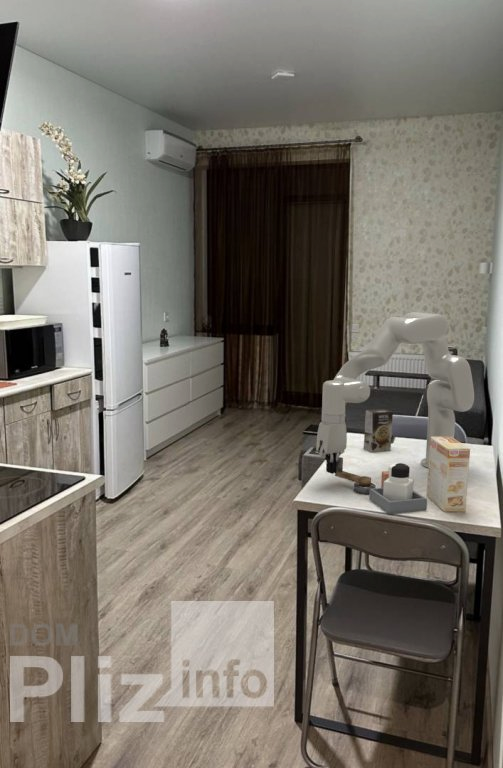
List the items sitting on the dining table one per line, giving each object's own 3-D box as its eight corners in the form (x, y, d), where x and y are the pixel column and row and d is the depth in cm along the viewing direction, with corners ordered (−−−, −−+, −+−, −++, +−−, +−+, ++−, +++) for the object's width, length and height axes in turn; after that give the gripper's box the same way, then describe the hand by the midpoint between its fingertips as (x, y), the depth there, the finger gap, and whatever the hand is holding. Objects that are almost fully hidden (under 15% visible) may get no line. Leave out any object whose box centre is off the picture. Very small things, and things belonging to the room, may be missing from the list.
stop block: (383, 495, 206) (385, 474, 205) (380, 492, 209) (382, 471, 207) (393, 495, 206) (394, 474, 205) (389, 491, 209) (391, 471, 208)
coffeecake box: (466, 511, 192) (471, 448, 189) (443, 512, 192) (447, 448, 189) (447, 494, 207) (451, 435, 204) (425, 495, 207) (429, 436, 203)
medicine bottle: (412, 501, 199) (414, 463, 197) (405, 508, 193) (407, 469, 191) (390, 496, 203) (392, 460, 200) (382, 503, 196) (384, 465, 194)
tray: (404, 495, 205) (405, 485, 205) (426, 509, 194) (427, 498, 193) (369, 499, 202) (369, 488, 201) (389, 513, 190) (389, 502, 189)
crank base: (369, 486, 214) (369, 480, 214) (379, 493, 207) (379, 487, 207) (349, 488, 212) (350, 482, 212) (359, 495, 205) (359, 489, 205)
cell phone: (395, 436, 282) (395, 435, 282) (392, 444, 269) (392, 442, 269) (378, 435, 285) (378, 433, 284) (375, 443, 271) (375, 441, 271)
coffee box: (372, 453, 255) (374, 413, 252) (363, 448, 260) (364, 409, 258) (391, 450, 258) (393, 411, 255) (382, 446, 264) (384, 408, 261)
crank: (373, 484, 209) (374, 465, 208) (365, 486, 206) (366, 468, 205) (339, 474, 219) (340, 456, 218) (332, 476, 217) (332, 458, 216)
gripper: (340, 413, 218) (338, 465, 222) (308, 419, 209) (306, 473, 212) (357, 417, 213) (355, 471, 216) (324, 423, 203) (323, 479, 207)
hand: (331, 472), depth 214 cm, fingers closed
